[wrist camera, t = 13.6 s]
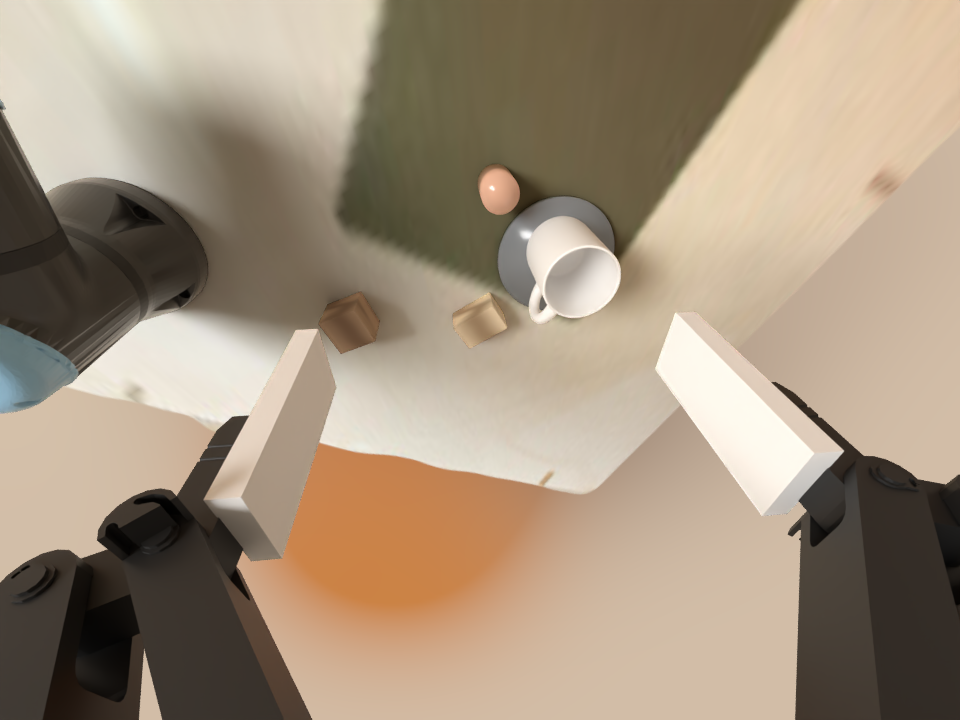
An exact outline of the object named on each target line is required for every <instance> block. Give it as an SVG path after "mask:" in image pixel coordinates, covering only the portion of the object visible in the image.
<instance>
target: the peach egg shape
mask: <svg viewBox="0 0 960 720" xmlns="http://www.w3.org/2000/svg"><path fill="white" fill-rule="evenodd" d="M478 190H479V193H480V196H481V199H482V202H483V204H484V206H485V208H486V209H487V210H488V211H490V212H491V213H494V214H498V215H501V214H506V213H508V212H510V211H511V210H512V209H514V207H515V206H516V205H517V203H518V200H519V197H520V189H519V186H518V183H517V182H516V180H515V179H514V177H513V176H512V175H511V173H510V172H509V170H508V169H507V168H506V167H504V166H503V165H500V164H491V165H489V166H487V167H485V168H484V169H483V170H482V171H481V173H480V175H479V177H478Z"/></svg>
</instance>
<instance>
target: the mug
mask: <svg viewBox="0 0 960 720" xmlns="http://www.w3.org/2000/svg"><path fill="white" fill-rule="evenodd" d="M526 256H527V261H528V265H529V267H530V270H531V272H532V274H533V276H534V278H535V280H536V284H535V286H534V288H533V290H532V293H531V296H530V300H529V314H530V317H531V319H532V320H533V321H534V322H535V323H538V324H544V323H547V322H549V321H550V320H551V319H553V318H554V317H555V316H556V314H558V315H561V316H563V317H567V318H581V317H585V316H588V315H591V314H593V313H596V312H597V311H599V310H601V309H602V308H603V307H605V306H606V305H607V304H608V303H609V302H610V301H611V300H612V298H613V297H614V295H615V294H616V292H617V290H618V288H619V285H620V281H621V268H620V264H619V262H618V260H617V258H616V257H615V255H614V254H613V253H612V252H611V251H610V250H609V249H608V248H607V247H606V246H605V245H604V244H603V243H602V242H601V241H600V240H599V239H598V237H597V236H596V235H595V234H594V233H593V232H592V231H591V230H590V229H589V228H588V227H587V226H586V225H585V224H584V223H583V222H581V221H580V220H578V219H576V218H573V217H569V216H557V217H553V218H551V219H548V220H547V221H545V222H543V223H542V224H541V225H539V226H538V227H537V228H536V229H535V231H534V232H533V233H532V235H531V237H530V239H529V241H528V244H527V250H526ZM542 295H543V298H544V300H545V302H546V304H547V306H546V307H545V309H544V310H543V311H542V312H540V310H539V304H540V299H541V297H542Z"/></svg>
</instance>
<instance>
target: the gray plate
mask: <svg viewBox="0 0 960 720" xmlns="http://www.w3.org/2000/svg"><path fill="white" fill-rule="evenodd" d="M557 216H569V217H573V218H576V219H578V220H580V221H581V222H583V223H584V224H585V225H586V226H587V227H588V228H589V229H590V230H591V231H592V232H593V233H594V234H595V235H596V236H597V237H598V239H599V240H600V241H601V242H602V243H603V244H604V245H605V246H606V247H607V248H608V249H609V250H610V251H611V252H612V253H613V254H614V234H613V231H612V227H611V225H610V223H609V221H608V219H607V218H606V216H605V215H604V214H603V213H602V212H601V211H600V210H599V209H598V208H597V207H596V206H594V205H593V204H592V203H590V202H588V201H586V200H584V199H581V198H578V197H574V196H553V197H549V198H545V199H542V200H540V201H537V202H535V203H534V204H532V205H530V206H528V207H527V208H526V209H524V210H523V211H522V212H521V213H519V214H518V215H517V216H516V217H515V218H514V220H513V221H512V222H511V223H510V225H509V226H508V228H507V229H506V231H505V233H504V235H503V237H502V240H501V242H500V246H499V250H498V258H497V260H498V270H499V274H500V277H501V280H502V283H503V285H504V287H505V289H506V290H507V291H508V293H509V294H510V295H511V296H512V297H513V298H514V299H515V300H517V301H518V302H520V303H521V304H523V305H525V306H528V307H529V300H530V296H531V293H532V290H533V288H534V286H535V284H536V280H535V278H534V276H533V274H532V272H531V270H530V267H529V265H528V261H527V256H526V250H527V244H528V241H529V239H530V237H531V235H532V233H533V232H534V231H535V229H536V228H537V227H538V226H539V225H541V224H542V223H543V222H545V221H547V220H548V219H551V218H553V217H557ZM546 306H547V304H546V302H545V300H544V298H543V295H542V297H541V299H540V304H539V310H544V309H545V307H546Z"/></svg>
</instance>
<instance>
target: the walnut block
mask: <svg viewBox="0 0 960 720" xmlns="http://www.w3.org/2000/svg"><path fill="white" fill-rule="evenodd" d="M379 323H380V321H379V319H378V318H377V316H376V314H375V313H374V311H373V310H372V308H371V307H370V305H369V303H368V302H367V300H366V299H365V297H364V296H363V294H362V292H358V293H356V294H353V295H350V296H348V297H345V298H343V299H340V300H338V301H335V302H333V303H330V304H328V305H327V307H326V309H325V311H324V313H323V315H322V317H321V319H320V321H319V326H320V327H321V328H322V330H323V331H324V332H325V334H326V335H327V336H328V337H329V339H330V340H331V341H332V343H333V344H334V345H335V347H336V348H337V349H338V351H339V352H340V353H341V354H342V353H345V352H348V351H350V350H353V349H356V348H358V347H361V346H364V345H367V344H369V343H372V342H375V340H376V336H377V331H378V327H379Z"/></svg>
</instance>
